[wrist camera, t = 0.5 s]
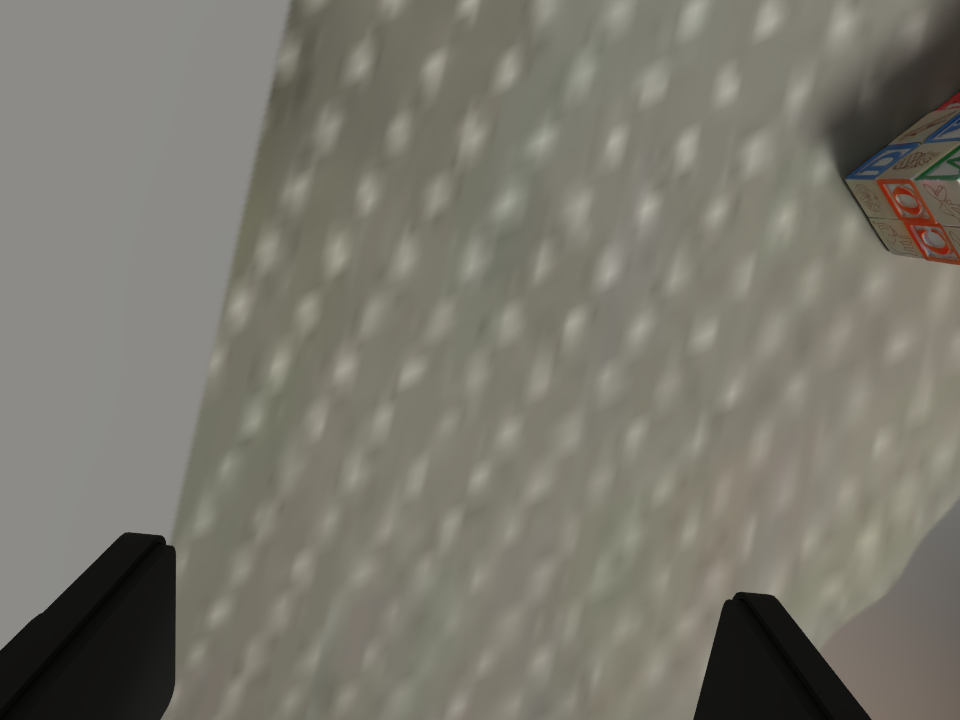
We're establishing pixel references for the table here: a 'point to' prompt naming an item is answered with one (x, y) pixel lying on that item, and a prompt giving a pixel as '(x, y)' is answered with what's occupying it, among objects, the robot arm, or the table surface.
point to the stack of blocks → (916, 188)
